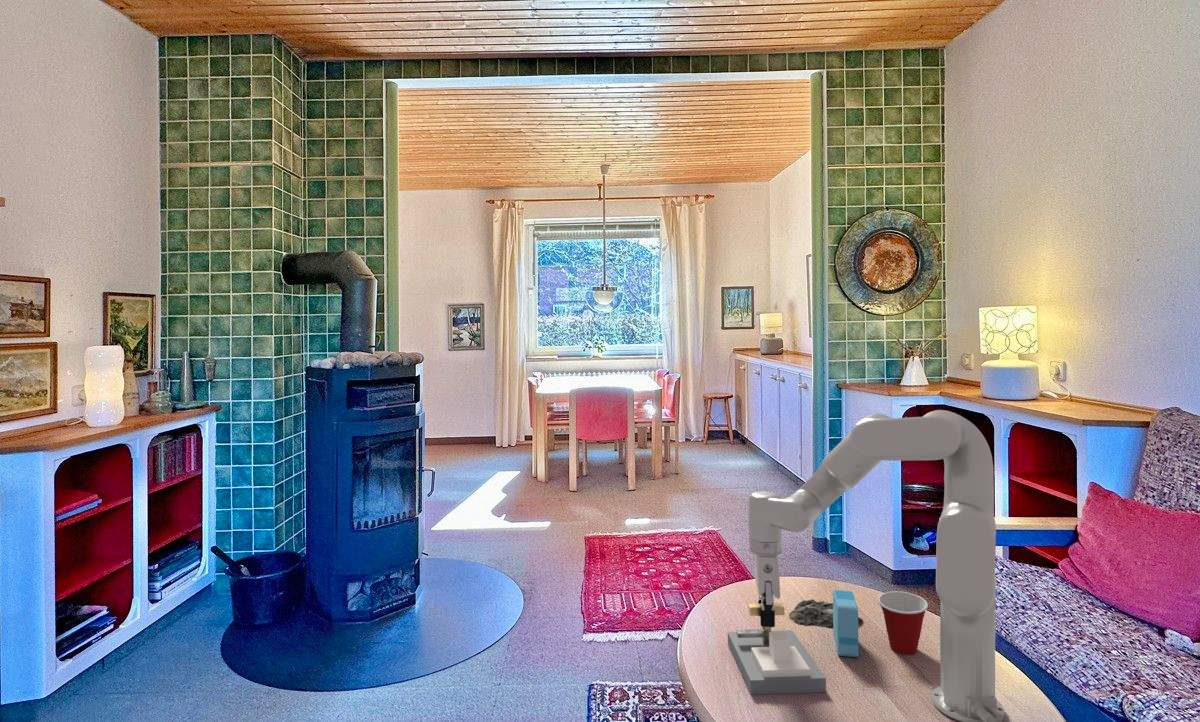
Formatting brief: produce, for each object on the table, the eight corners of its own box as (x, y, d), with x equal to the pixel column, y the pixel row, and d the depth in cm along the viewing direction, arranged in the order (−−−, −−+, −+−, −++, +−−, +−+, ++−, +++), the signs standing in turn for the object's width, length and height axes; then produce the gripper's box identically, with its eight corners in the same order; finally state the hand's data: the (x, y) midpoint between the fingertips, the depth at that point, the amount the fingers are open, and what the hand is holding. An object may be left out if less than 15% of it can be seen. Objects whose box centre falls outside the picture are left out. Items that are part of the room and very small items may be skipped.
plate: (825, 692, 132) (825, 678, 132) (750, 694, 132) (750, 680, 132) (792, 642, 154) (792, 630, 154) (727, 643, 154) (727, 631, 154)
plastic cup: (869, 647, 151) (868, 598, 150) (892, 634, 157) (892, 587, 157) (914, 665, 142) (913, 613, 141) (936, 650, 148) (936, 601, 148)
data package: (858, 660, 145) (858, 609, 144) (838, 658, 146) (837, 607, 146) (852, 636, 156) (851, 589, 156) (833, 634, 158) (832, 587, 157)
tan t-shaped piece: (738, 644, 147) (737, 607, 147) (736, 640, 149) (735, 604, 149) (784, 643, 147) (784, 606, 147) (782, 639, 149) (781, 603, 149)
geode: (784, 603, 178) (791, 627, 163) (784, 590, 178) (791, 613, 163) (854, 607, 174) (867, 632, 160) (854, 593, 174) (867, 617, 160)
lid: (810, 676, 133) (809, 646, 133) (763, 677, 133) (763, 647, 133) (794, 652, 143) (794, 624, 143) (751, 653, 143) (750, 626, 143)
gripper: (786, 558, 138) (787, 639, 139) (777, 534, 155) (778, 607, 155) (752, 556, 139) (753, 637, 140) (746, 533, 156) (747, 605, 157)
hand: (766, 620), depth 148 cm, fingers open, 4 cm apart
